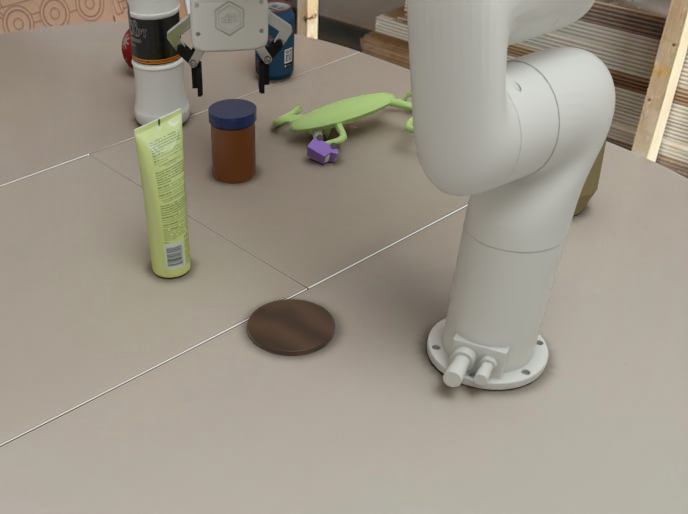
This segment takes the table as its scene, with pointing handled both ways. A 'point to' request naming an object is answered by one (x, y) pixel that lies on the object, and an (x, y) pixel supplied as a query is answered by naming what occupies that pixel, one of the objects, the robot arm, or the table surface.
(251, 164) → the jam jar
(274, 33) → the soda can
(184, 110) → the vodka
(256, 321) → the coaster
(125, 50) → the christmas ornament
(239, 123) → the jar lid
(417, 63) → the robot arm
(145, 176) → the tube
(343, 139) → the figurine
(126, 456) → the table surface
